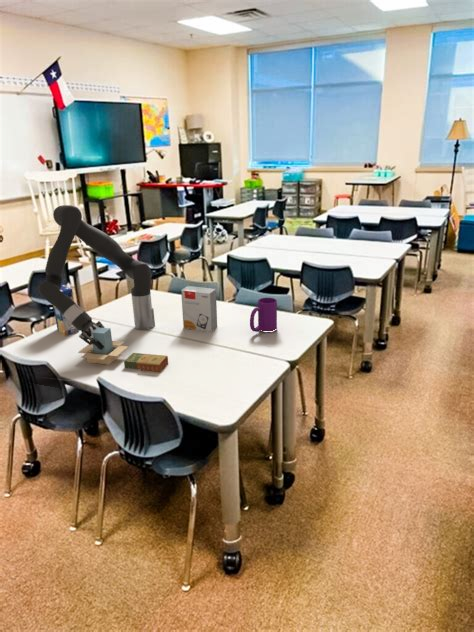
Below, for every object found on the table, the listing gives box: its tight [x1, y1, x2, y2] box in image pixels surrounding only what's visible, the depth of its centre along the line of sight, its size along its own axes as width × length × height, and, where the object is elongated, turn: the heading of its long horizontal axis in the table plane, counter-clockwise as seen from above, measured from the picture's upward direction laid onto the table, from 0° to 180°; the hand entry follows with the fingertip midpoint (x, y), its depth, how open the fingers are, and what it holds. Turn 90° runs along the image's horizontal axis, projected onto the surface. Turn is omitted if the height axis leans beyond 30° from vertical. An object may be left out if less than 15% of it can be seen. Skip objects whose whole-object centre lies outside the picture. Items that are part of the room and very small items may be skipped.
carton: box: [123, 352, 169, 374], centre depth 194 cm, size 8×16×4 cm, turn 74°
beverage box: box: [52, 284, 80, 336], centre depth 230 cm, size 7×11×22 cm, turn 39°
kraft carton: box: [78, 340, 129, 365], centre depth 201 cm, size 18×18×5 cm
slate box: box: [91, 327, 113, 355], centre depth 199 cm, size 6×6×13 cm
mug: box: [249, 297, 278, 333], centre depth 223 cm, size 9×16×15 cm, turn 131°
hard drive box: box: [180, 285, 218, 333], centre depth 229 cm, size 16×8×20 cm, turn 68°
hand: (106, 345), depth 199 cm, fingers closed on slate box, 5 cm apart
